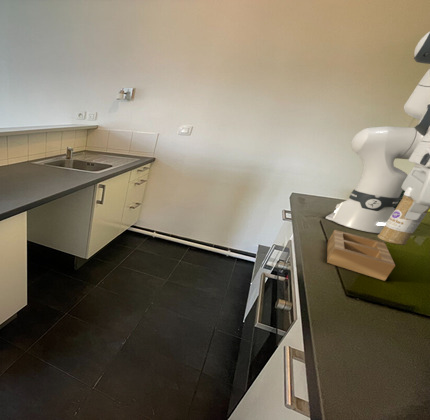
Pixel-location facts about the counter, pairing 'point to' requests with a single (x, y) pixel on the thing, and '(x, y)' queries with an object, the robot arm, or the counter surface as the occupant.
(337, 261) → the hole block
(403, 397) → the counter surface
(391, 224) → the sprinkles bottle
